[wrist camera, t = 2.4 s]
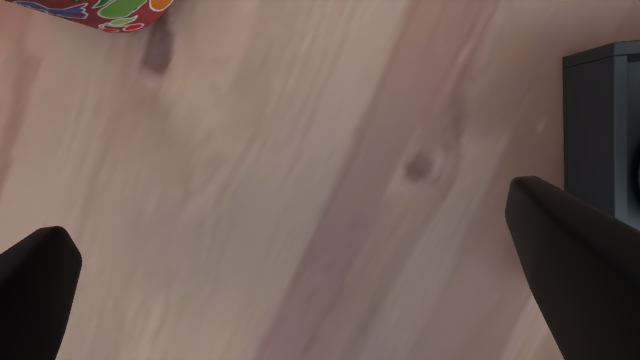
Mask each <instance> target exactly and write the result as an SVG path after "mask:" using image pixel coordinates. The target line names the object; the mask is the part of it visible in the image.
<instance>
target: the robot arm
mask: <svg viewBox="0 0 640 360" xmlns="http://www.w3.org/2000/svg"><path fill="white" fill-rule="evenodd" d="M505 217H506V222H507V225H508V227H509V230H510V233H511V236H512V239H513V242H514V245H515V248H516V250H517V253H518V256H519V259H520V262H521V265H522V268H523V271H524V273H525V276H526V279H527V282H528V284H529V287H530V289H531V291H532V294H533V296H534V298H535V300H536V302H537V304H538V306H539V308H540V310H541V312H542V314H543V317H544V319H545V321H546V323H547V325H548V327H549V329H550V331H551V333H552V335H553V337H554V339H555V341H556V343H557V345H558V347H559V349H560V351H561V353H562V355H563V357H564V360H640V231H639V230H637V229H636V228H634V227H632V226H630V225H628V224H626V223H624V222H622V221H620V220H618V219H617V218H615V217H613V216H611V215H609V214H607V213H605V212H603V211H601V210H599V209H598V208H596V207H594V206H592V205H590V204H588V203H586V202H584V201H582V200H580V199H579V198H577V197H575V196H573V195H571V194H569V193H567V192H565V191H563V190H561V189H560V188H558V187H556V186H554V185H552V184H550V183H548V182H546V181H544V180H542V179H541V178H539V177H536V176H524V177H516V178H514V179H512V181H511V183H510V187H509V192H508V198H507V203H506V208H505ZM81 267H82V257H81V254H80V252H79V250H78V248H77V247H76V245H75V244H74V242H73V240H72V239H71V237H70V236H69V234H68V232H67V231H66V230H65V229H64V228H63V227H60V226H54V227H44V228H40V229H38V230H36V231H35V232H33V233H32V234H30V235H29V236H27V237H26V238H24V239H23V240H21V241H20V242H18V243H17V244H15V245H14V246H12V247H11V248H9V249H8V250H6V251H5V252H3V253H2V254H0V360H55V359H56V356H57V353H58V351H59V348H60V345H61V342H62V339H63V336H64V333H65V330H66V326H67V323H68V319H69V315H70V311H71V307H72V303H73V299H74V295H75V291H76V287H77V283H78V279H79V275H80V271H81Z"/></svg>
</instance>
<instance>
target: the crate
mask: <svg viewBox="0 0 640 360" xmlns="http://www.w3.org/2000/svg"><path fill="white" fill-rule="evenodd" d="M563 100H564V162H565V192H567V193H569V194H571V195H573V196H575V197H577V198H579V199H580V200H582V201H584V202H586V203H588V204H590V205H592V206H594V207H596V208H598V209H599V210H601V211H603V212H605V213H607V214H609V215H611V216H613V217H615V218H617V219H618V220H620V221H622V222H624V223H626V224H628V225H630V226H632V227H634V228H636V229H637V230H639V231H640V190H639V184H638V169H639V163H640V40H633V41H622V42H614V43H610V44H607V45H603V46H600V47H597V48H593V49H590V50H587V51H583V52H580V53H577V54H573V55H570V56H566V57H563Z"/></svg>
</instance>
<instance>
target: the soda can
mask: <svg viewBox="0 0 640 360" xmlns="http://www.w3.org/2000/svg"><path fill="white" fill-rule="evenodd" d="M638 184H639V190H640V163H639V169H638Z"/></svg>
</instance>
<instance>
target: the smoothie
mask: <svg viewBox="0 0 640 360" xmlns="http://www.w3.org/2000/svg"><path fill="white" fill-rule="evenodd" d="M5 1H8V2H12V3H15V4H18V5H22V6H25V7H28V8H31V9H35V10H38V11H41V12H45V13H48V14H51V15H54V16H58V17H61V18H64V19H68V20H71V21H74V22H77V23H81V24H84V25H87V26H90V27H94V28H97V29H100V30H103V31H106V32H132V31H135V30H138V29H141V28H143V27H146V26H149V25H150V24H151V23H153V22H154V21H155V20H157V19H158V18H159V17H161V16H162V15H163V14H164V13H165V12H166V11H167V9H168V8H169V6H170V5H171V3H172V2H173V0H5Z"/></svg>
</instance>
